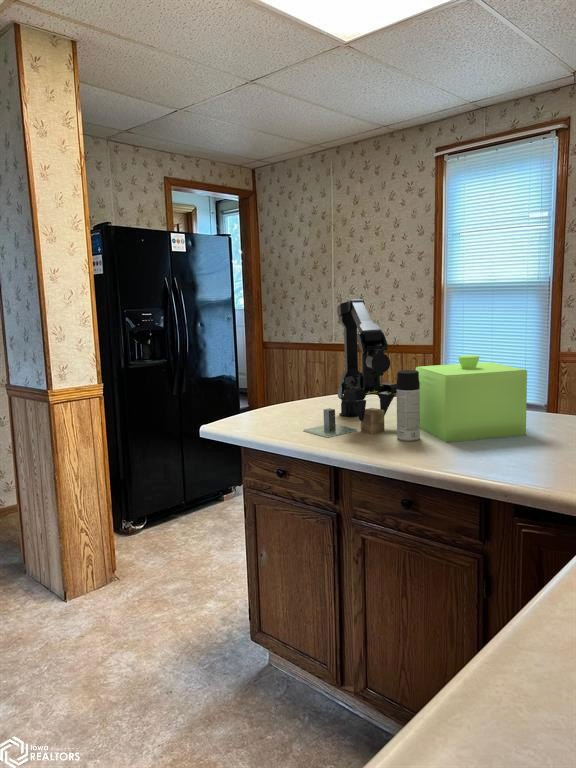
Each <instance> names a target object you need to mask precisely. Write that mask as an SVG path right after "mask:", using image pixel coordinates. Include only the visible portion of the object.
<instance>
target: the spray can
mask: <svg viewBox="0 0 576 768" xmlns="http://www.w3.org/2000/svg"><path fill="white" fill-rule="evenodd" d="M396 374H397V375H396V384H397V393H396V436H397V437H396V438H397V440H399V441H404V442H406V441H407V442H413V441H415V442H416V441H418V440H419V439H420V438H421V429H420V382H419V372H418V371H416V369H411V370H410V369H404V370H398V371H397V373H396Z"/></svg>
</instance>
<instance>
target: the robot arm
mask: <svg viewBox="0 0 576 768" xmlns="http://www.w3.org/2000/svg"><path fill="white" fill-rule="evenodd" d="M336 314H337V316H338V321H339V323H340V324H341V327H342V328H343V340H344V348H343V349H344V371H343V373H342V374H341V376H340V382H339V384H338V389H337V398H338V399H340V400H341V402H340V413H338V415H339V416H345V417H349V418H353V417H358V419H359V421H360V422H361V421H363V419H364V414H365V409H366V406H367V400H366V397H367V396H370V395H375V394H376V395H377V397H378V399H379V409H382V410H384V417H385V415H386V414H387V411H388V410H389V408H390V404H391V403H392V401H393V400H394V398H395V397H397V383H393V382H383V383H382V379H381V377H382V376H384V373H386V372H387V371H388V370H389V369H390V367H391V359H390V357H389V356H388V355H387V354H385V351H388V347H389V345H388V341H387V337H386V336H385V333H384V331H383V330H382V329H381V328H382V327H380V326H379V324H378V323H374V322H373V321H372V318H371V316H370V314H369V313H368V309H367V308H366V305H365V300H364V299H362V298H353V299H352V298H351V299H349V300H347V301H345V302H341V303H339V305H337V308H336ZM358 349H360V352H361V371H360V370H359V358H358V357H359V353H358V352H359V351H358Z"/></svg>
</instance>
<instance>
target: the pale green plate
mask: <svg viewBox="0 0 576 768" xmlns="http://www.w3.org/2000/svg"><path fill="white" fill-rule="evenodd" d="M357 430H358V429H357V428H352V427H349V426H344V425H341V424H337V423H336V409H334V408H331V407H330V408H325V409H323V425H318V426H313V427H310V428H304V429H303V432H306V433H308V434H314V435H317V436H320V437H324V438H332V437H333V438H334V437H337V436H341V435H345V434H349V433H354V432H357Z"/></svg>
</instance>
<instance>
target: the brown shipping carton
mask: <svg viewBox="0 0 576 768" xmlns="http://www.w3.org/2000/svg"><path fill="white" fill-rule="evenodd" d="M360 432H361V433H365V434H369V435H374V434H379V433H383V432H385V416H384V410H382V409H380V408H376V407H369V408H365V414H364V419H363V421H360Z"/></svg>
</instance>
